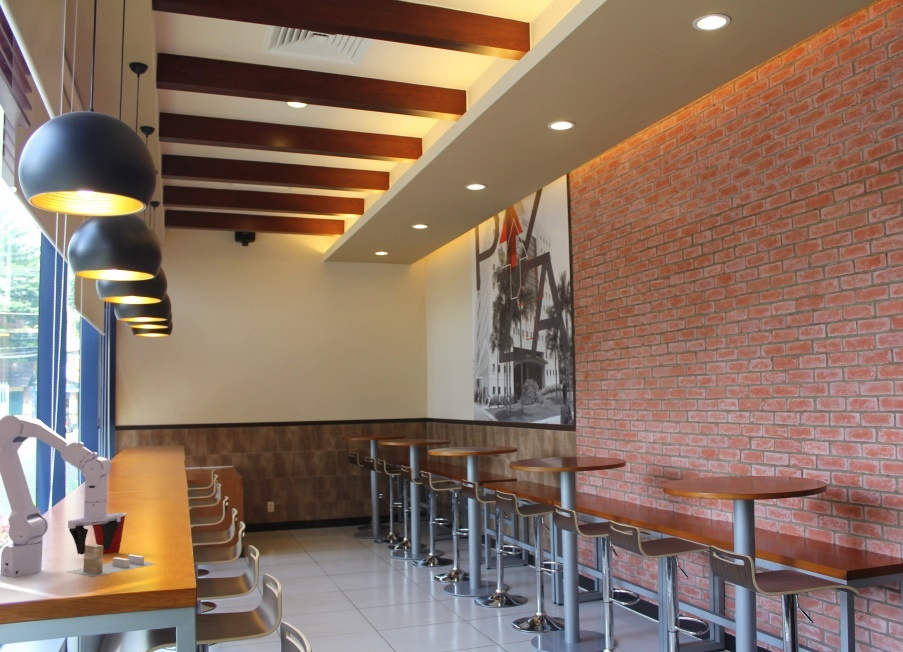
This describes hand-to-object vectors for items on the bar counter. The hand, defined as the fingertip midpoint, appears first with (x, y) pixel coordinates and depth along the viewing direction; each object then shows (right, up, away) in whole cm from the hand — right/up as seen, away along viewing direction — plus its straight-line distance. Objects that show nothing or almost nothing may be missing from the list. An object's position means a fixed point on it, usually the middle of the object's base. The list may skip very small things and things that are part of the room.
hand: (93, 551), depth 217 cm
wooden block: (0, -5, -1) cm, 5 cm away
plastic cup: (-9, -9, +29) cm, 31 cm away
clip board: (+3, -7, +4) cm, 9 cm away
